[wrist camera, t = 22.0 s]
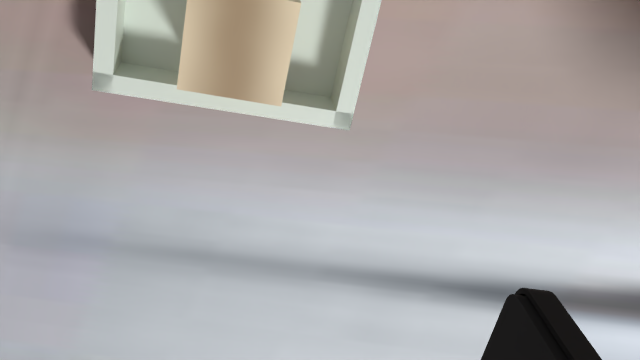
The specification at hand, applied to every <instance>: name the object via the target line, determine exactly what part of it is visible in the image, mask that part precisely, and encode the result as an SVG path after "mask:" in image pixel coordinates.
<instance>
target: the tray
mask: <svg viewBox="0 0 640 360" xmlns="http://www.w3.org/2000/svg"><path fill="white" fill-rule="evenodd" d="M300 1H301V8H300V13H299V18H298V23H297V28H296V33H295V38H294V43H293V49H292V54H291V59H290V64H289V69H288V74H287V79H286V84H285V89H284V95H283V100H282V105H281V106H275V105H269V104H263V103H257V102H251V101H245V100H239V99H232V98H226V97H220V96H214V95H208V94H202V93H196V92H190V91H184V90H178V89H177V82H178V73H179V65H180V56H181V47H182V39H183V30H184V22H185V13H186V4H187V0H96V19H95V40H94V60H93V80H92V90H95V91H101V92H108V93H114V94H120V95H127V96H133V97H139V98H146V99H152V100H158V101H165V102H171V103H178V104H184V105H190V106H197V107H203V108H209V109H216V110H222V111H229V112H235V113H241V114H248V115H254V116H260V117H267V118H273V119H280V120H286V121H292V122H299V123H305V124H311V125H318V126H324V127H331V128H337V129H343V130H350V126H351V122H352V118H353V114H354V110H355V106H356V102H357V98H358V94H359V89H360V85H361V81H362V77H363V73H364V69H365V65H366V61H367V57H368V53H369V49H370V45H371V41H372V37H373V33H374V29H375V25H376V21H377V16H378V12H379V8H380V4H381V0H300Z"/></svg>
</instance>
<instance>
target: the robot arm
mask: <svg viewBox="0 0 640 360" xmlns="http://www.w3.org/2000/svg"><path fill="white" fill-rule="evenodd" d="M481 360H602V359H601V358H600V356H599V355H598V354H597V352H596V351H595V349H594V348H593V347H592V345H591V344H590V343H589V341H588V340H587V338H586V337H585V336H584V334H583V333H582V331H581V330H580V329H579V327H578V326H577V325H576V323H575V322H574V320H573V319H572V318H571V316H570V315H569V313H568V312H567V311H566V309H565V308H564V307H563V305H562V304H561V302H560V301H559V300H558V298H557V297H556V296H555V295H554V294H553V293H552V292H550V291H544V290H536V289H528V288H521V289H519V290H518V291H517V292H516V293H515V294H512V295H509V296H508V297H507V299H506V301H505V303H504V306H503V308H502V310H501V313H500V315H499V318H498V320H497V322H496V325H495V327H494V330H493V332H492V334H491V337H490V339H489V342H488V344H487V346H486V349H485V351H484V354H483V356H482V358H481Z"/></svg>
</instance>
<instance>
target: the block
mask: <svg viewBox="0 0 640 360" xmlns="http://www.w3.org/2000/svg"><path fill="white" fill-rule="evenodd" d="M300 8H301V1H300V0H187V4H186V13H185V22H184V30H183V39H182V47H181V56H180V65H179V73H178V82H177V89H178V90H184V91H190V92H196V93H202V94H208V95H214V96H220V97H226V98H232V99H239V100H245V101H251V102H257V103H263V104H269V105H275V106H281V105H282V100H283V95H284V89H285V84H286V79H287V74H288V69H289V64H290V59H291V54H292V49H293V43H294V38H295V33H296V28H297V23H298V18H299V13H300Z"/></svg>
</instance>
